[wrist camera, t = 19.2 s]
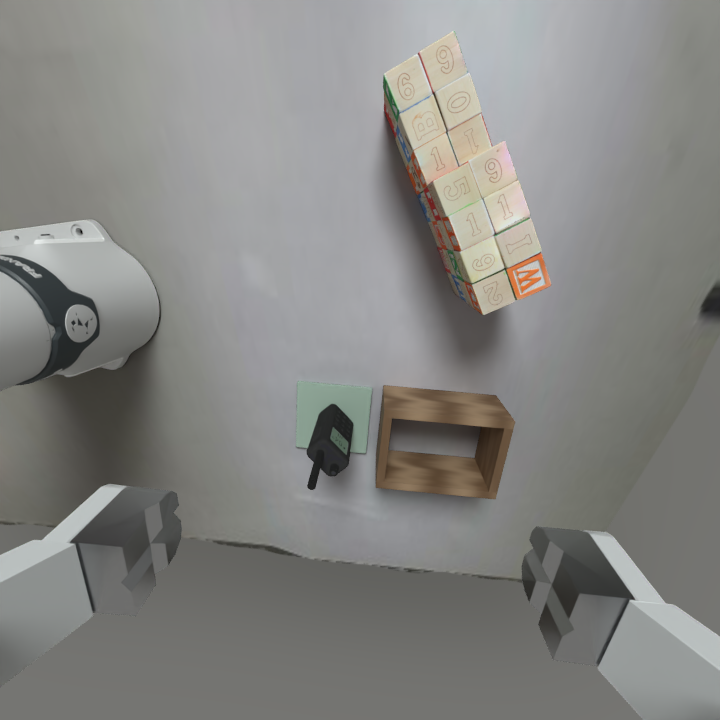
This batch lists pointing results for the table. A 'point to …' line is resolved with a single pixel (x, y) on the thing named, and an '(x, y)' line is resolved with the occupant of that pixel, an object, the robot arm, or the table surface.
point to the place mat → (321, 396)
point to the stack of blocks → (463, 179)
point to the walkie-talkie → (330, 443)
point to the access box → (443, 470)
